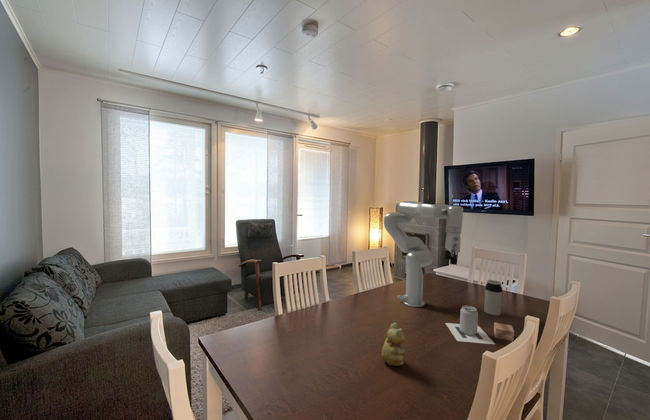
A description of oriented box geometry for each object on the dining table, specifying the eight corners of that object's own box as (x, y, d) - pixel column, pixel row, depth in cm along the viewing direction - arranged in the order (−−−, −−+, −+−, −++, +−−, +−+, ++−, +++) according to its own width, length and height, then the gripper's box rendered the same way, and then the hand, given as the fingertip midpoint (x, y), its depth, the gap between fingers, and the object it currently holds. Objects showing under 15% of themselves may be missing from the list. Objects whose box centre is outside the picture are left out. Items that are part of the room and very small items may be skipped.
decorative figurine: (408, 368, 105) (410, 329, 104) (388, 372, 102) (390, 332, 101) (394, 354, 114) (396, 318, 113) (376, 357, 111) (377, 320, 111)
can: (456, 328, 137) (457, 304, 136) (470, 328, 137) (472, 304, 137) (465, 336, 129) (466, 311, 128) (480, 336, 130) (482, 311, 129)
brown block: (495, 338, 129) (496, 328, 129) (493, 332, 135) (494, 322, 135) (513, 342, 126) (514, 331, 126) (510, 335, 132) (511, 325, 132)
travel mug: (502, 317, 153) (504, 284, 152) (485, 314, 156) (487, 282, 155) (498, 311, 160) (500, 280, 159) (482, 309, 163) (484, 278, 162)
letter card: (457, 341, 125) (457, 340, 125) (445, 323, 143) (445, 322, 143) (495, 345, 123) (495, 344, 123) (478, 326, 141) (478, 325, 141)
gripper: (467, 233, 137) (463, 267, 139) (455, 227, 154) (452, 258, 156) (450, 231, 138) (447, 265, 140) (441, 226, 155) (438, 257, 157)
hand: (450, 261), depth 148 cm, fingers open, 9 cm apart
